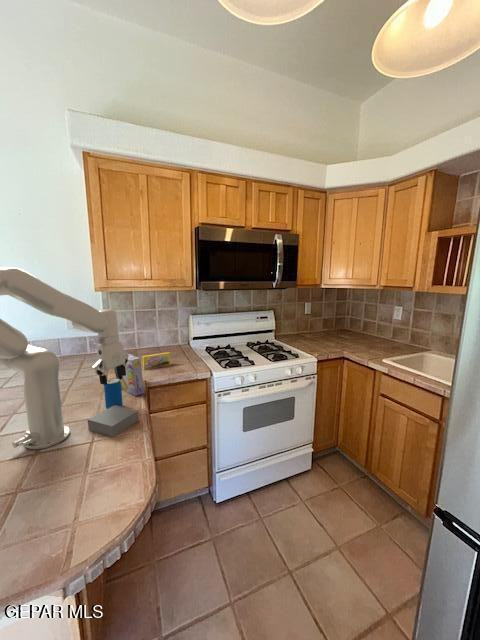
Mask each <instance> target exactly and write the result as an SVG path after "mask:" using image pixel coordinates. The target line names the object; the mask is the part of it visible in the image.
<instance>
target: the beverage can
mask: <svg viewBox="0 0 480 640" xmlns="http://www.w3.org/2000/svg"><path fill="white" fill-rule="evenodd" d="M103 391H104V392H103V393H104V400H105V401H104V403H105V410H106V409H108V408H110V407H112V406H114V405H117V406H121V407H123V404H124V403H123V402H124V401H123V392H122V391H123V390H122V389H121V382H120V381H119V379H118V378H113V377H112V378H107V384H106V385H104V384H103Z"/></svg>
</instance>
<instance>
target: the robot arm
mask: <svg viewBox="0 0 480 640" xmlns="http://www.w3.org/2000/svg"><path fill="white" fill-rule="evenodd" d="M1 296H10V297H12V298H14V299H16V300H17V301H19V302H22V303H23V304H26V305H28V306H30V307H31V308H34V309H36V310H38V311H40V312H41V313H44V314H46V315H49V316H53V317H57V318H61V319H65V320H67V321H70V322H71V325H72V326H73V328H74V329H76V330H77V331H81V332H85V333H93V334H97V337H98V339H97V340H96V343H97V344H98V345H97V361H96V363H95V364H94V365H92V367H91V369H92V370H93V372H94V373H95V374H96V375H98V378H99V383H100V385H103V386H104V385H106V384H107V380H108V378H107V375H106V373H107V371H108V370H112V369H114V368H115V367H117V366H119V374H120V375H122V376H126V369H125V366H126V363H127V361H128V357H129V355H128V354H129V353H125V348H124V346H123V343H122V341H121V340H120V335H119V334H120V333H119V326H118V319H117V318H118V316H117V311H116V310H115V309H113V308H105V309H99V310H98V309H96V308H94V307H93V306H91V305H89V304H87V303H85V302H83V301H81V300H79V299H78V298H74V297H72V296H70V295H69V294H66V293H64V292H61V291H60V290H58V289H57V288H55V287H53V286H51V285H49V284H48V283H46V282H44V281H42V279H39V278H38V277H36V276H34V275H32V274H31V273H29V272H28V271H27V270H26V271H25V270H24V269H21V268H18V267H10V266H9V267H0V297H1ZM0 364H1V365H3V366H5V367H7V368H8V369H10V370H12V371H14V372H15V373H19V374H22V375H23V376H24V377H23V378H24V381H23V397H24V404H25V409H26V410H25V411H26V418H27V425H28V430H26V431H25V434H24V436H22V437H21V438H18V439H16V440H15V441H13V442H12V444H11V445H12V447H13V448H14V449H16V448H19V446H22V447H23V448H24V447H25V448H27V449H29V450H39V449H40V450H41V449H46V448H49V447H52V446H55V445H57V444H60V443H61V442H63V441H64V440H66V439H67V438H68V437H69V436H70V433H71V429H70V427H69V426H66V425H65V423H64V416H63V415H64V414H63V406H62V399H61V391H60V390H61V389H60V380H59V376H60V375H59V374H60V360H59V358H58V356H57V355H56V353H55V352H53V351H51V350H50V349H47V348H43V347H39V346H35V345H33V344H31V343H30V342H29V341H28V338H27V337H26V335H25V334H24V333H23V332H22V331H20V330H19V329H17V328H15V327H13V326H12V325H11V324H9V323H8V322H6V321H5V320H3V319H2V318H0Z"/></svg>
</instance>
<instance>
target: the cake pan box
mask: <svg viewBox="0 0 480 640" xmlns="http://www.w3.org/2000/svg"><path fill="white" fill-rule="evenodd" d="M127 354H128V355H129V357H128V361H127V363H126V366H125V369H126V376H122V375H120V374H119V366H117V367H115V368H113V369H114V373H115V374H114V375H115V377H116V378H118V379H119V381H120V382H121V389H122V391H125V392H127V393H129V394H131V395H133V396H135V397H136V396H140V395H142V394H145V388H144V380H143V379H144V378H143V372H142V370H143V369H142V362H141V358H140V357H137V356H135V355H133V354H130V353H127Z"/></svg>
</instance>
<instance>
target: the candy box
mask: <svg viewBox="0 0 480 640" xmlns="http://www.w3.org/2000/svg"><path fill="white" fill-rule="evenodd" d="M170 354H171V353H170V351H169V352H161V353H155V354H149V355H142V370H143V371H144V370H152V369H157V368H160V367H161V368H163V367H167V366H170V365H171V355H170Z"/></svg>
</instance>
